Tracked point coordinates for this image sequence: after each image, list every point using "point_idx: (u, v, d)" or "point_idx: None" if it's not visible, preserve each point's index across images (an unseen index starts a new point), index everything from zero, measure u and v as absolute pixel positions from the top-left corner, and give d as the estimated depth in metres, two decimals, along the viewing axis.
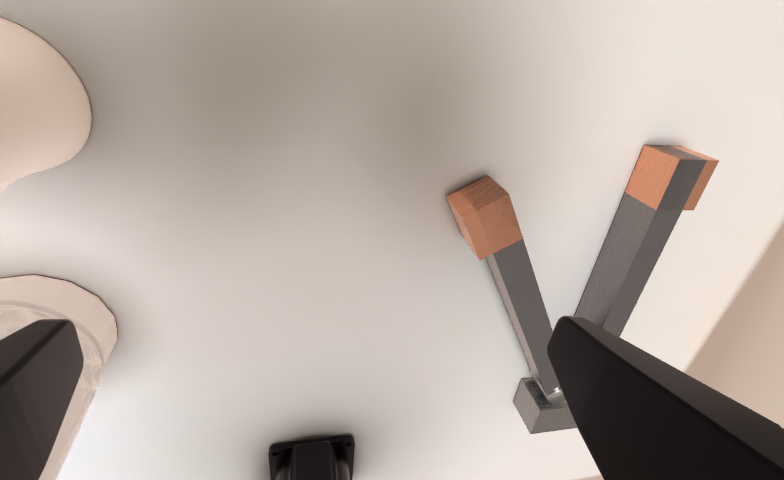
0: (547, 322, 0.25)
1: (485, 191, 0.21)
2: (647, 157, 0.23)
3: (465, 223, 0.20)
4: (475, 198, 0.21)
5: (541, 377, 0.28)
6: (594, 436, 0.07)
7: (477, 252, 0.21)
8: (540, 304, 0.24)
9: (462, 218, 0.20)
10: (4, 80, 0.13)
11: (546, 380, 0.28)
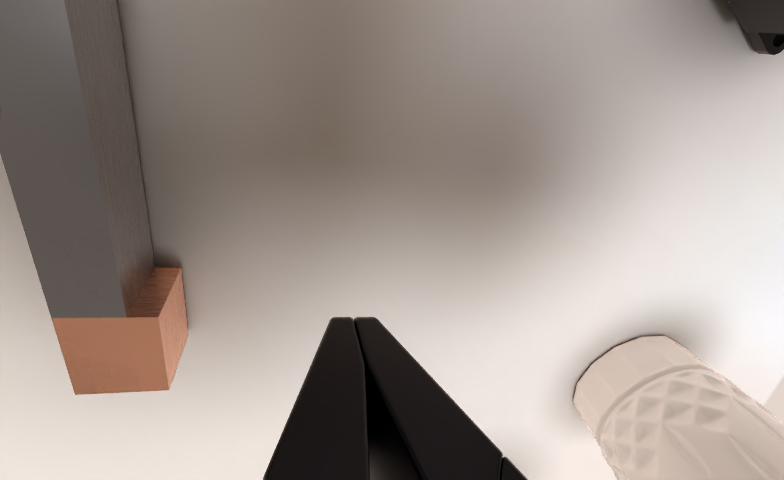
0: None
1: None
2: None
3: (165, 380, 0.13)
4: None
5: None
6: None
7: (158, 331, 0.12)
8: (1, 121, 0.08)
9: (168, 384, 0.13)
10: None
11: None
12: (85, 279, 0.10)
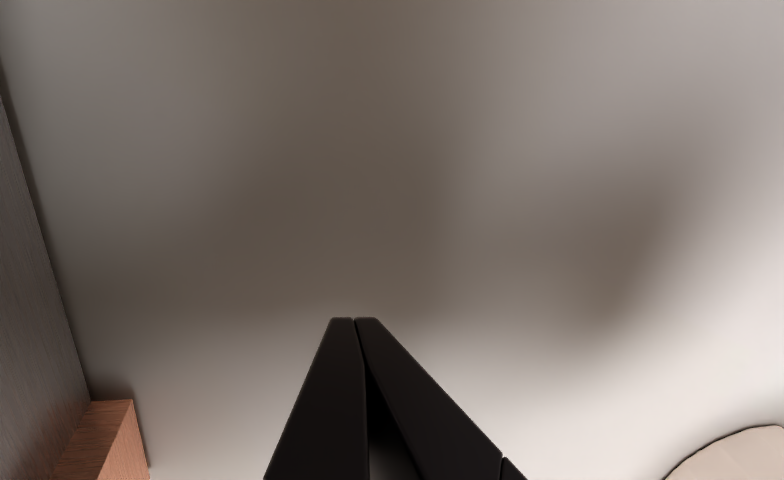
0: None
1: None
2: None
3: None
4: None
5: None
6: None
7: None
8: None
9: None
10: None
11: None
12: None
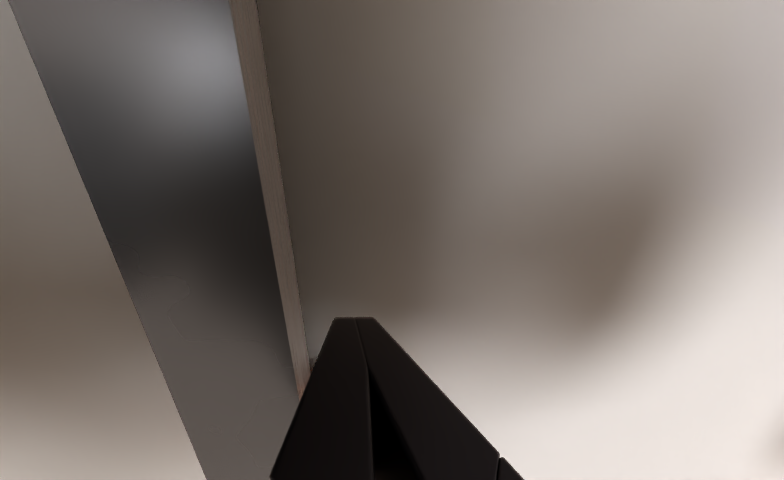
0: (75, 126, 0.04)
1: None
2: None
3: None
4: None
5: None
6: None
7: None
8: (139, 273, 0.05)
9: None
10: None
11: None
12: (262, 455, 0.07)
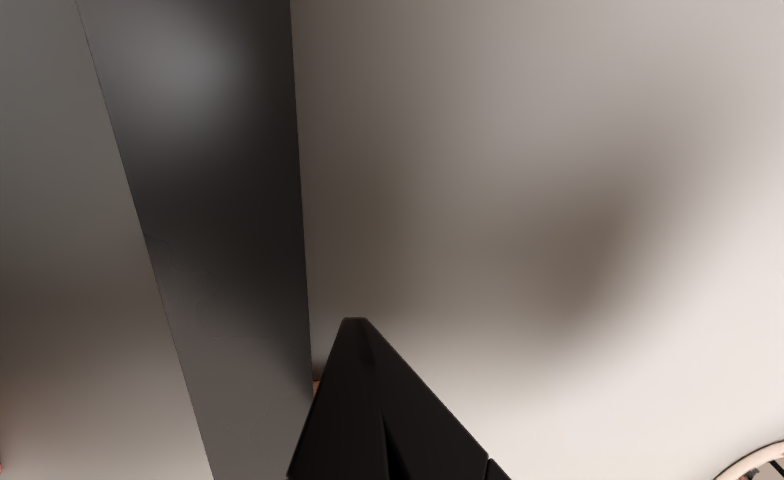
0: (124, 118, 0.04)
1: None
2: None
3: None
4: None
5: None
6: None
7: None
8: (171, 267, 0.05)
9: None
10: None
11: None
12: (271, 454, 0.07)
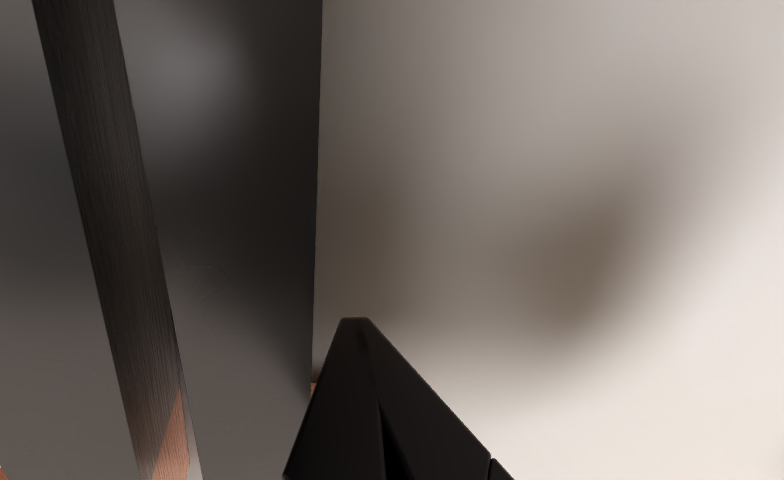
0: (148, 109, 0.04)
1: None
2: (182, 470, 0.10)
3: None
4: None
5: None
6: None
7: None
8: (180, 261, 0.05)
9: None
10: None
11: None
12: (263, 455, 0.07)
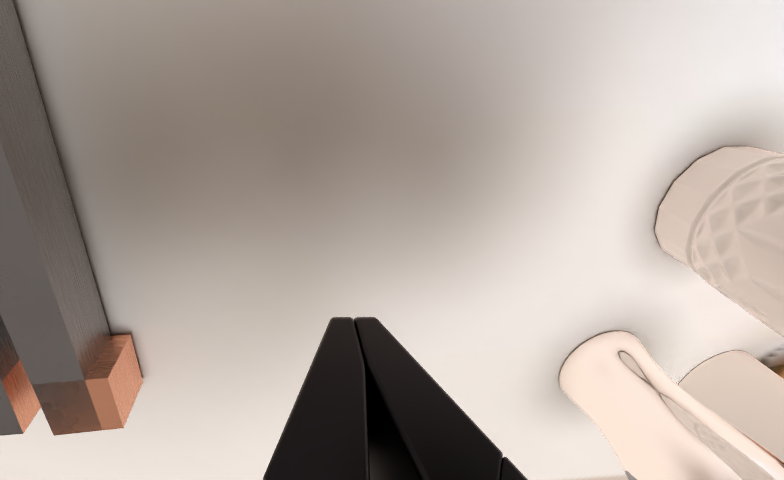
0: None
1: None
2: None
3: (120, 421, 0.17)
4: None
5: None
6: None
7: (109, 387, 0.16)
8: None
9: (123, 424, 0.17)
10: (598, 426, 0.24)
11: None
12: (52, 357, 0.15)
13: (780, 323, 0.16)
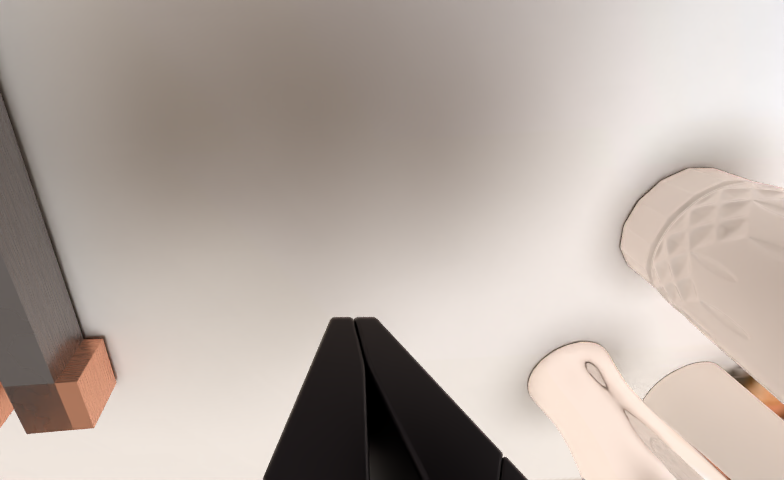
0: None
1: None
2: None
3: (90, 421, 0.18)
4: None
5: None
6: None
7: (78, 390, 0.17)
8: None
9: (93, 424, 0.18)
10: (561, 433, 0.25)
11: None
12: (22, 362, 0.16)
13: (725, 346, 0.17)
